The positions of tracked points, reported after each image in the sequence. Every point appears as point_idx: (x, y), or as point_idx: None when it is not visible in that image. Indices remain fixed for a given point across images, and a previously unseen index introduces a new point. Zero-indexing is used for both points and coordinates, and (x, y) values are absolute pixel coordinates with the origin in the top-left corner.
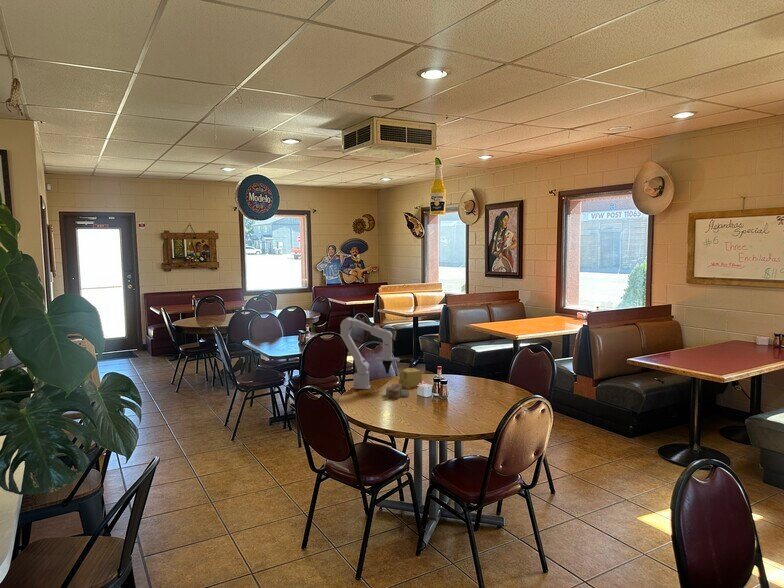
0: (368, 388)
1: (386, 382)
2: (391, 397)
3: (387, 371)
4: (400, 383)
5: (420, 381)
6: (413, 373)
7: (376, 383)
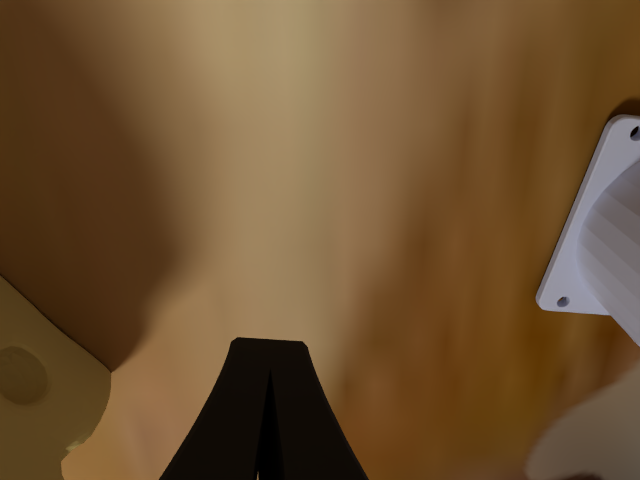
0: (613, 123)
1: None
2: None
3: (254, 377)
4: (79, 368)
5: None
6: None
7: (439, 414)
